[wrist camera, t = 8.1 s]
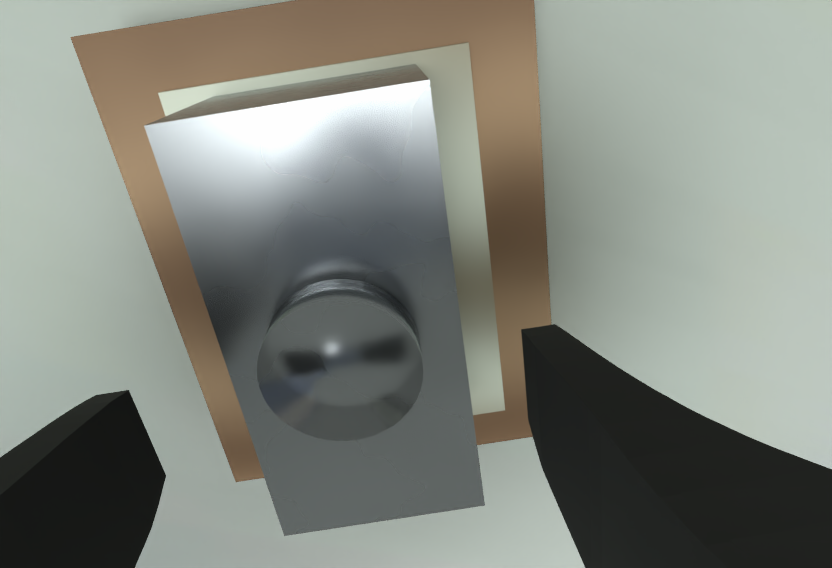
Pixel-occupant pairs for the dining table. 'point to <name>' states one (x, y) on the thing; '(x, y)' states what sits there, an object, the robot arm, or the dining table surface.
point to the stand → (457, 142)
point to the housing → (331, 290)
